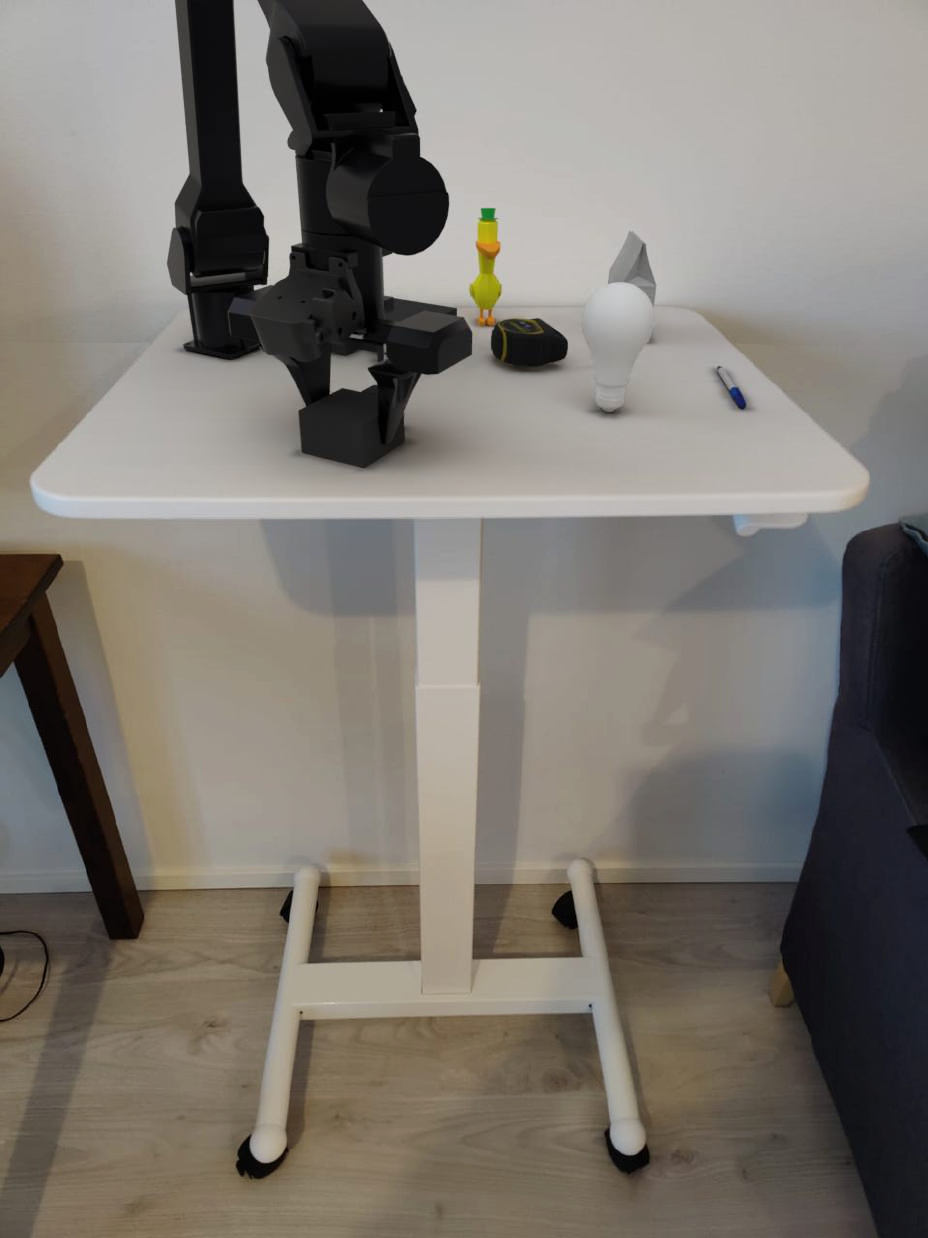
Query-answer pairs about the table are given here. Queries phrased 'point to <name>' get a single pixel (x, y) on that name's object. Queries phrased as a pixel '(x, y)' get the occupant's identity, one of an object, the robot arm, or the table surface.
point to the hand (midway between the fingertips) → (353, 434)
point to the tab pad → (346, 427)
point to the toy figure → (486, 266)
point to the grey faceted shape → (634, 267)
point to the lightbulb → (616, 337)
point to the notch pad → (400, 313)
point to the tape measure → (527, 342)
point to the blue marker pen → (732, 388)
